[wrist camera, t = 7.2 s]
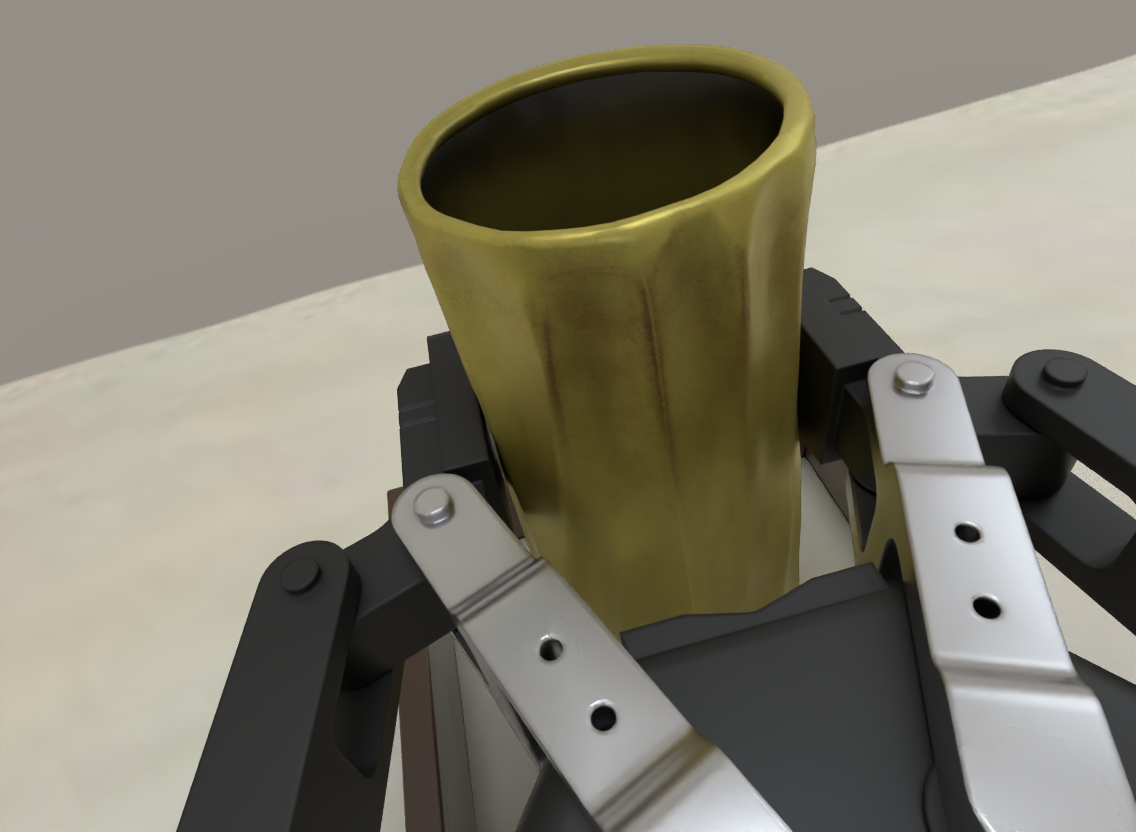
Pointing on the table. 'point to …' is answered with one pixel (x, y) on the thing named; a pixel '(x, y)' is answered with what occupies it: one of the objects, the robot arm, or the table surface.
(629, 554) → the vase
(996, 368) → the table surface
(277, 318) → the table surface
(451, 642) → the open brown wooden box
